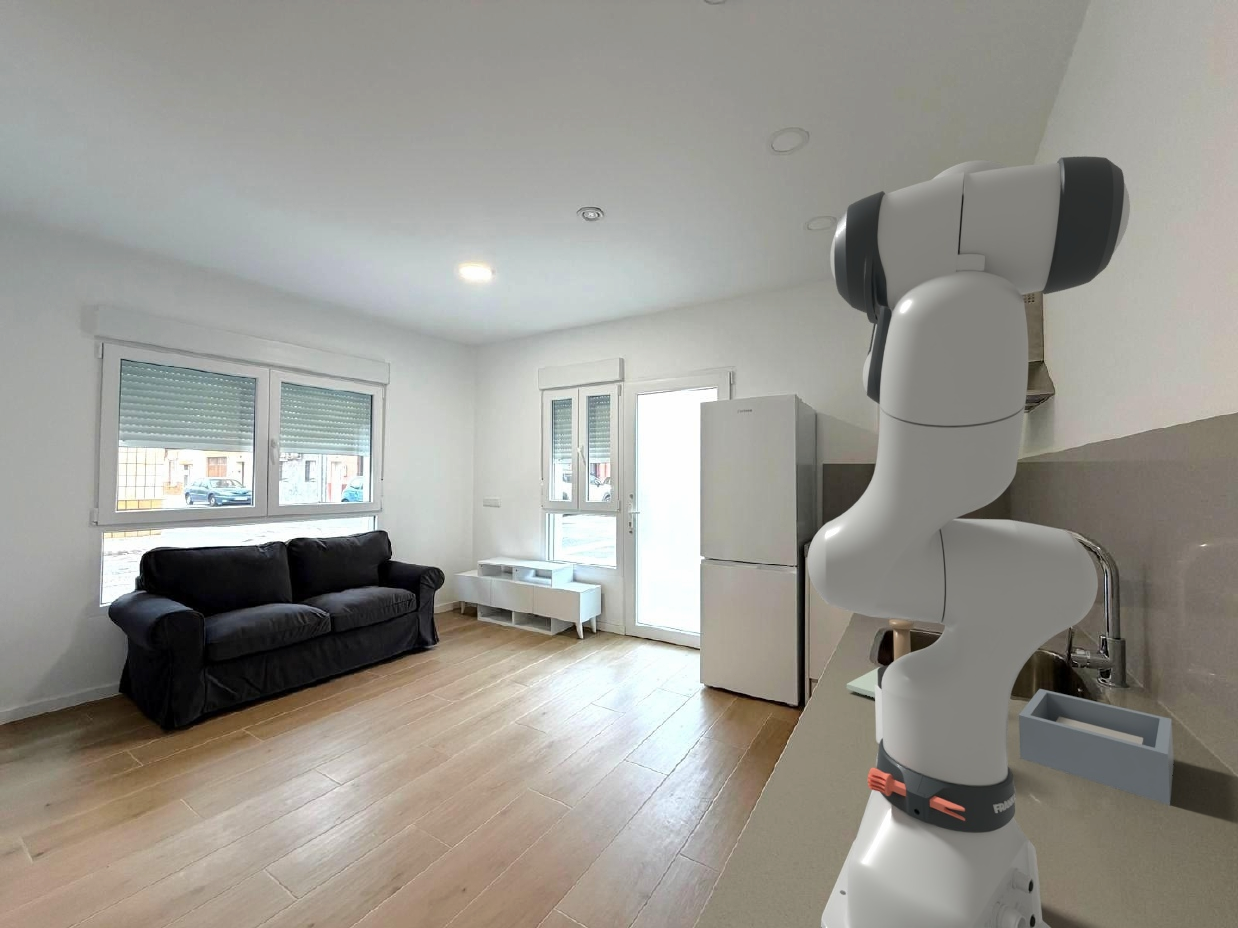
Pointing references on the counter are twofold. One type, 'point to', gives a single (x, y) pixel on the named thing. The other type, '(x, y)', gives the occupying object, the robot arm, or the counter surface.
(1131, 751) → the box
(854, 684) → the lid
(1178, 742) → the counter surface
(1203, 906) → the counter surface
